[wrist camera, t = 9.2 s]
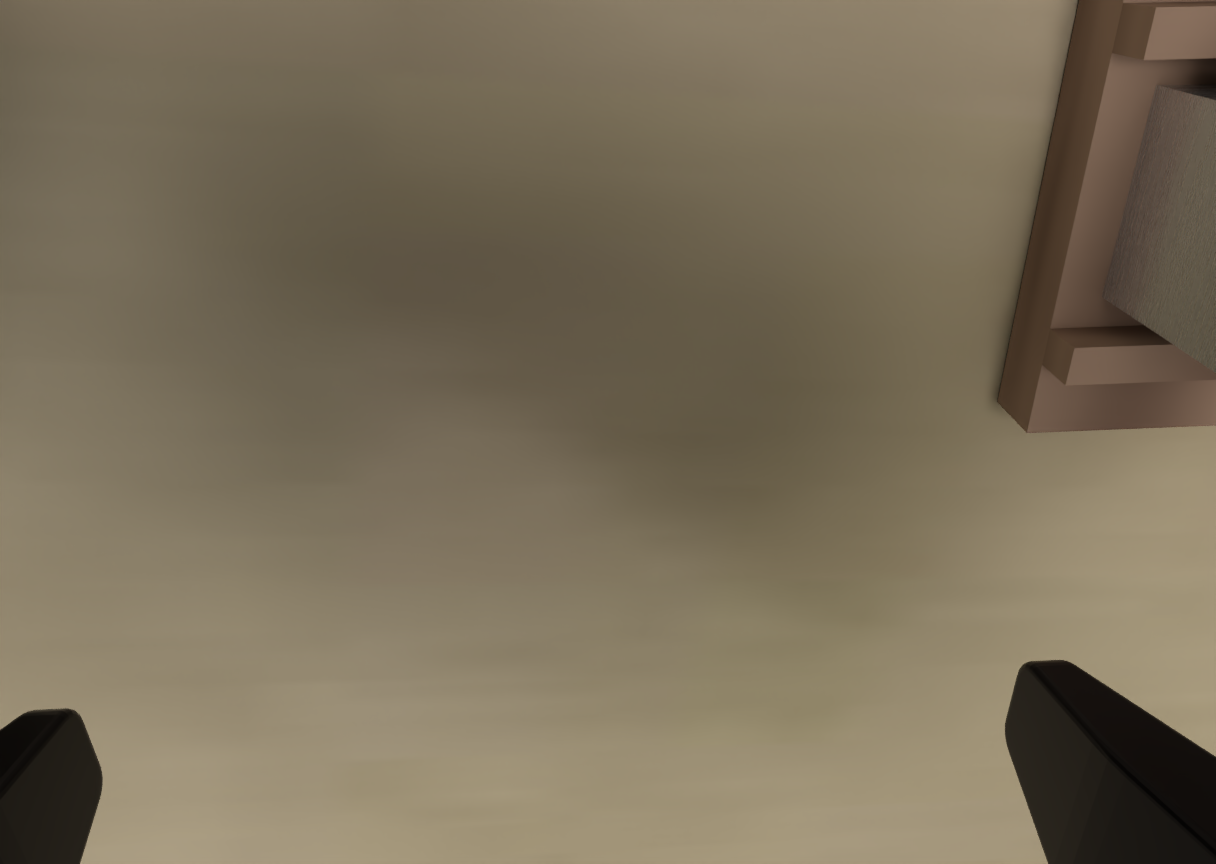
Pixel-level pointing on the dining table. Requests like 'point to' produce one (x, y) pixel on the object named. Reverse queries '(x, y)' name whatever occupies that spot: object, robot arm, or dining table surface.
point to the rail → (1104, 233)
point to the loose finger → (1172, 224)
